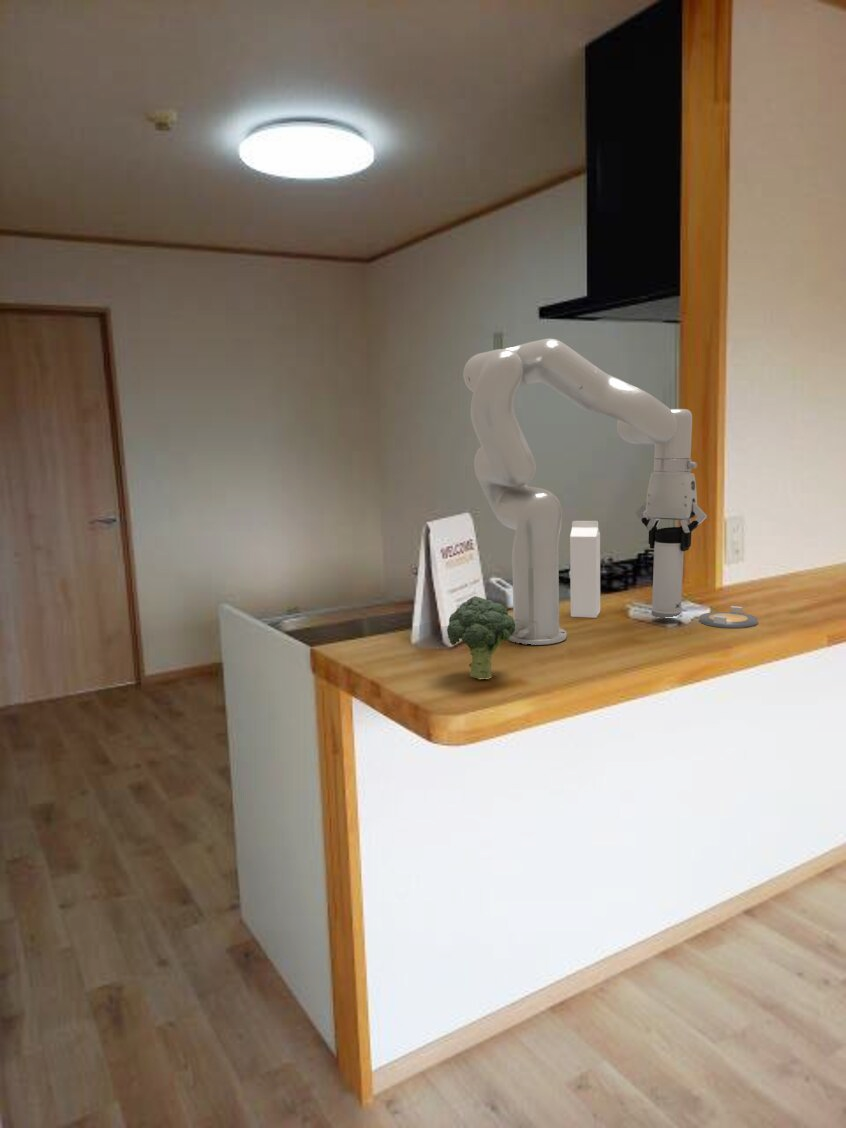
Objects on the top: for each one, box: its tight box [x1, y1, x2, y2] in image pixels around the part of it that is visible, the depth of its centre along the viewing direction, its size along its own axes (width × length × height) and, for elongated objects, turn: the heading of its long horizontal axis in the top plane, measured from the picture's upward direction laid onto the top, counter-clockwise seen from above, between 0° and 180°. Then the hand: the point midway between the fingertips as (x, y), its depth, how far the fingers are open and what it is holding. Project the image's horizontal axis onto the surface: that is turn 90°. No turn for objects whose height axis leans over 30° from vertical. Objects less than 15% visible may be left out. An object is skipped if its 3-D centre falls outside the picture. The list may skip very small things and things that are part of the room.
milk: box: [569, 520, 601, 619], centre depth 194 cm, size 6×6×22 cm
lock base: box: [699, 605, 759, 629], centre depth 184 cm, size 12×12×2 cm
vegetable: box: [446, 595, 516, 679], centre depth 150 cm, size 12×13×15 cm
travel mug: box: [651, 525, 685, 619], centre depth 185 cm, size 6×7×20 cm
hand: (669, 548), depth 184 cm, fingers closed on travel mug, 6 cm apart
